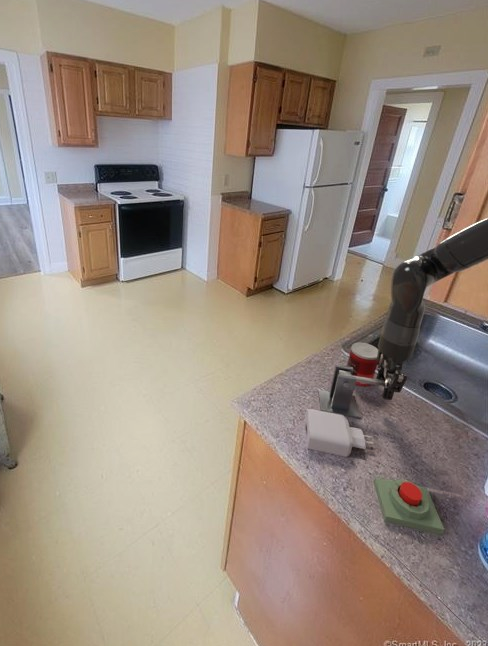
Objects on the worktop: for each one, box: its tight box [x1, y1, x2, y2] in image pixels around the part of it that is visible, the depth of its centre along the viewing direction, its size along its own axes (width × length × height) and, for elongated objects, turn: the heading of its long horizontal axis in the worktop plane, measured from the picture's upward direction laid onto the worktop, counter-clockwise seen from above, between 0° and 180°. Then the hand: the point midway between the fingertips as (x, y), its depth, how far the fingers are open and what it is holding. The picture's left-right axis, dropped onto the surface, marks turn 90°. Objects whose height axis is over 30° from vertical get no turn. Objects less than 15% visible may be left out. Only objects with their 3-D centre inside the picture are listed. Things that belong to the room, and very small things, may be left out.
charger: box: [304, 408, 374, 458], centre depth 78 cm, size 5×9×15 cm
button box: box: [373, 476, 445, 536], centre depth 64 cm, size 10×8×4 cm
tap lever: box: [338, 370, 386, 387], centre depth 85 cm, size 12×5×2 cm, turn 78°
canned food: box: [346, 342, 378, 387], centre depth 97 cm, size 8×8×11 cm
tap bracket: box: [317, 364, 362, 420], centre depth 87 cm, size 10×8×12 cm
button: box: [399, 481, 422, 506], centre depth 63 cm, size 4×4×2 cm
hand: (383, 390), depth 84 cm, fingers closed on tap lever, 5 cm apart
